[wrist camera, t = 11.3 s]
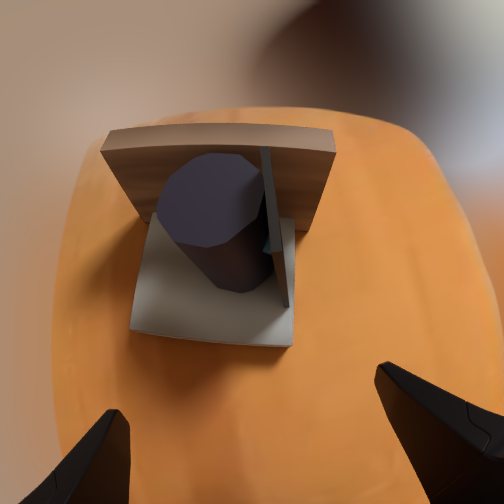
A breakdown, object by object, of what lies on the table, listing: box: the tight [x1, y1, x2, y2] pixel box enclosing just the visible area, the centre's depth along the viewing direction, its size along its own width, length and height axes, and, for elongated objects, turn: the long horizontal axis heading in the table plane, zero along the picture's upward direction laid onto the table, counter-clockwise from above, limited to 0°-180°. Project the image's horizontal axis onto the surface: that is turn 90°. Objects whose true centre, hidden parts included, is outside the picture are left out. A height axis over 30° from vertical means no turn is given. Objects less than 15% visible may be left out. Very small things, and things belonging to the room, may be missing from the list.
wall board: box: [100, 123, 336, 347], centre depth 18 cm, size 12×15×10 cm
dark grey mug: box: [157, 146, 290, 308], centre depth 16 cm, size 8×6×10 cm
